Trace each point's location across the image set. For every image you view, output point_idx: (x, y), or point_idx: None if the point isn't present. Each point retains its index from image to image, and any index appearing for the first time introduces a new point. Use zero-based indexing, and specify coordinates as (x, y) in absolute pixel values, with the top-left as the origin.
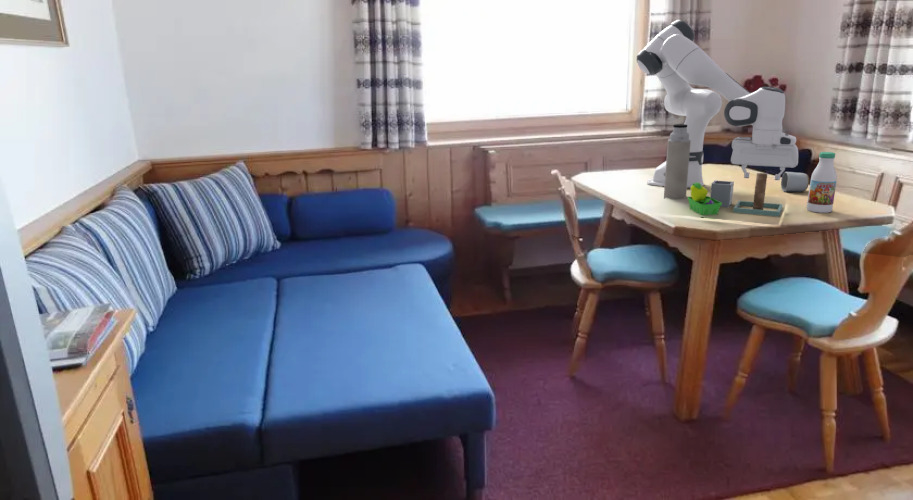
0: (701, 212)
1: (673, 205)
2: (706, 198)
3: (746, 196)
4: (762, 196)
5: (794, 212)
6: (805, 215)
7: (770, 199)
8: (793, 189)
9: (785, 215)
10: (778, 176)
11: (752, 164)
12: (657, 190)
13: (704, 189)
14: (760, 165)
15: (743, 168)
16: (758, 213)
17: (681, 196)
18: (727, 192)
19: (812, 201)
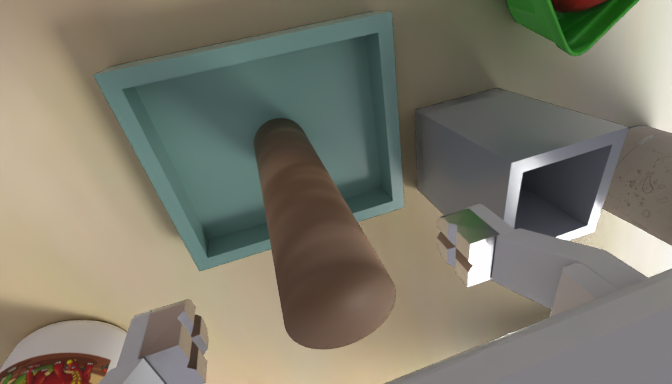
0: None
1: (638, 49)
2: (568, 44)
3: (400, 345)
4: (267, 170)
5: (144, 265)
6: (62, 248)
7: (322, 363)
8: None
9: (141, 185)
10: (137, 343)
11: (543, 331)
12: (652, 238)
13: None
14: (412, 373)
15: (578, 255)
16: (235, 42)
17: (620, 156)
18: (489, 136)
19: (70, 364)
